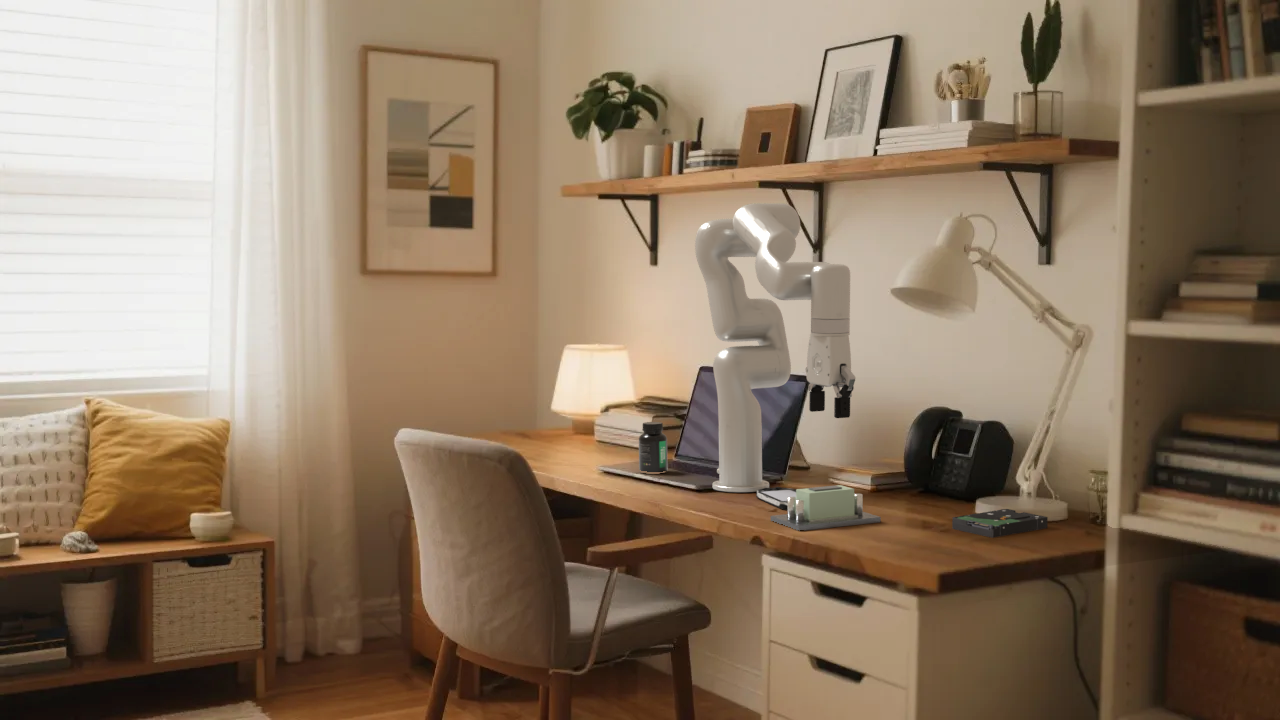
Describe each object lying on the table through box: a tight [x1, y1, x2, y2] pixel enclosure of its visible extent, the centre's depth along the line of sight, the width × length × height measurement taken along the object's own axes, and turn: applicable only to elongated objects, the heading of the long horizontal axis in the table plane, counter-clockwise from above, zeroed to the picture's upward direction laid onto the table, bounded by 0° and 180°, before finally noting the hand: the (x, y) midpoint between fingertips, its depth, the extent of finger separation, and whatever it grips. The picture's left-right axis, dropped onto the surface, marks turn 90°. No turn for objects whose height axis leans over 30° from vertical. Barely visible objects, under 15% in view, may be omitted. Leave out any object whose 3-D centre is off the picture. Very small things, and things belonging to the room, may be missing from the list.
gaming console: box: [755, 486, 796, 511], centre depth 279 cm, size 19×9×2 cm, turn 17°
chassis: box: [770, 493, 882, 532], centre depth 259 cm, size 11×18×5 cm, turn 113°
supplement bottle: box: [638, 421, 669, 472], centre depth 321 cm, size 7×7×12 cm
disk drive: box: [951, 508, 1048, 539], centre depth 250 cm, size 10×3×15 cm
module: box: [796, 484, 855, 519], centre depth 259 cm, size 5×10×5 cm, turn 113°
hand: (829, 414), depth 263 cm, fingers open, 9 cm apart
